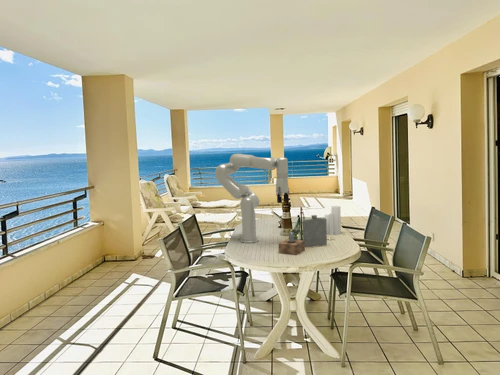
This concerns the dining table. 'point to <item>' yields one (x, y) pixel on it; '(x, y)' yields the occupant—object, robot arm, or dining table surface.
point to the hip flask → (315, 231)
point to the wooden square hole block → (291, 247)
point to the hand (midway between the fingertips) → (282, 201)
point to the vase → (334, 221)
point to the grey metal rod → (291, 237)
